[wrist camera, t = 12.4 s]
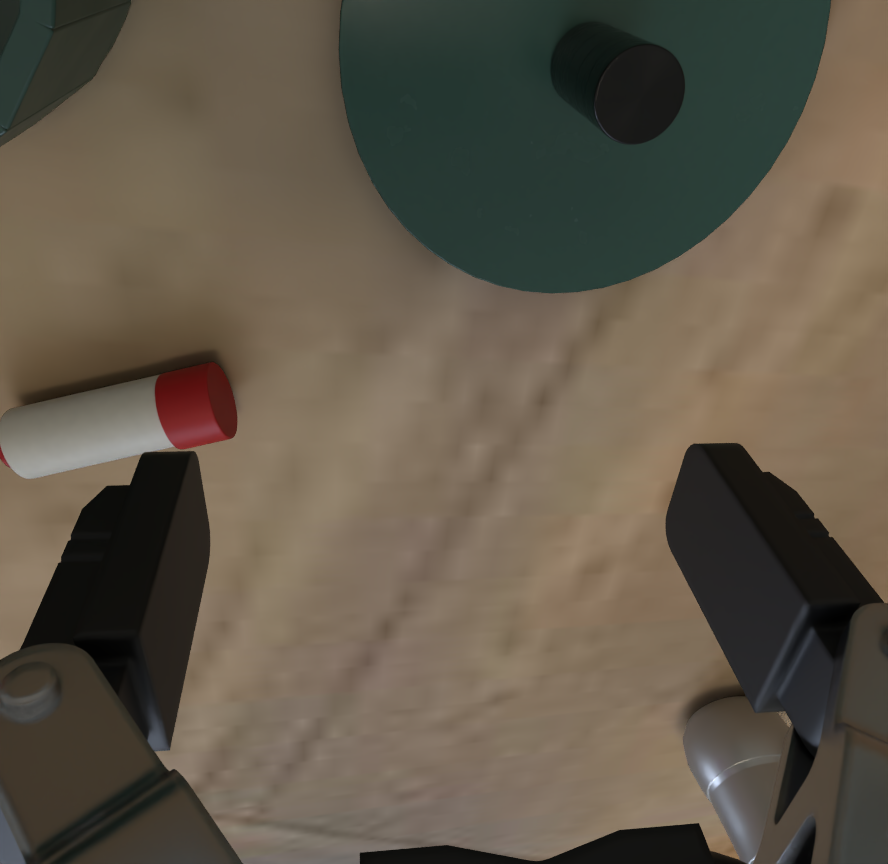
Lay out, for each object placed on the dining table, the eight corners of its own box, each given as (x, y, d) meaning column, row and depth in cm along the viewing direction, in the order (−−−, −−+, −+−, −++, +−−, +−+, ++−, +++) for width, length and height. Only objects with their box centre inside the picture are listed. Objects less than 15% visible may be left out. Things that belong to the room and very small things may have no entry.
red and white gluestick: (37, 434, 30) (30, 499, 29) (-12, 396, 28) (-23, 465, 26) (236, 389, 30) (239, 451, 28) (206, 346, 27) (207, 413, 26)
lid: (270, -188, 19) (243, -226, 14) (840, -330, 19) (1018, -419, 14) (401, 319, 28) (413, 406, 23) (790, 230, 28) (888, 298, 23)
